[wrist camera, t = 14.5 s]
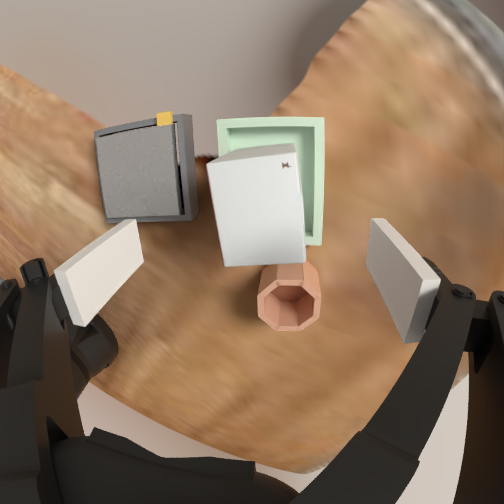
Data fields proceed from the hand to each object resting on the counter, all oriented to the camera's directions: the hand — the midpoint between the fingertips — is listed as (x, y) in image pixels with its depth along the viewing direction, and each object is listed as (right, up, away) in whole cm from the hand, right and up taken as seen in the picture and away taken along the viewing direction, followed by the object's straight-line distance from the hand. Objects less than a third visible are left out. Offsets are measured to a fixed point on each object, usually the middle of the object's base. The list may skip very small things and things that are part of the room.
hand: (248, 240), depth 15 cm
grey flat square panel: (-13, +8, +15) cm, 21 cm away
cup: (+5, -4, +22) cm, 23 cm away
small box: (+2, +7, +16) cm, 18 cm away
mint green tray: (+3, +8, +17) cm, 18 cm away
